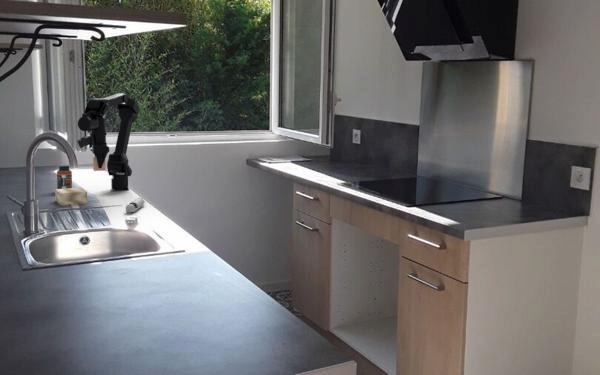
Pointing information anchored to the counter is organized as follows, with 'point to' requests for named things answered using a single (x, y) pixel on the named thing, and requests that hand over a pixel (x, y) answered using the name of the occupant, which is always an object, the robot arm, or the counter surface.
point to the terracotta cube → (95, 165)
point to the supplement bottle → (64, 177)
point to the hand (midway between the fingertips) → (99, 167)
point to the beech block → (71, 196)
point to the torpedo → (135, 205)
